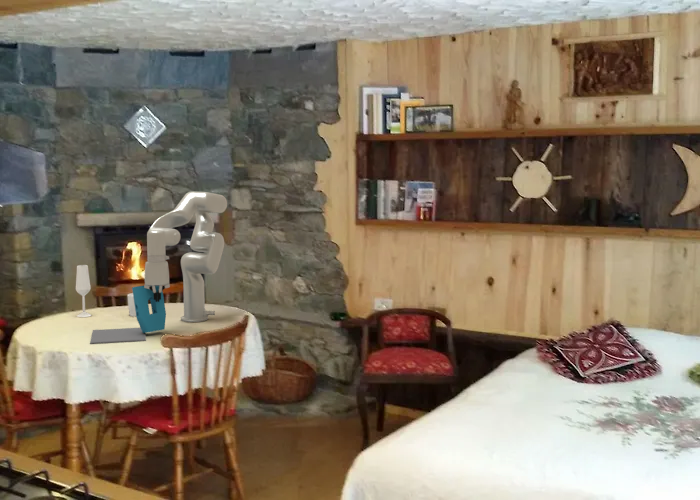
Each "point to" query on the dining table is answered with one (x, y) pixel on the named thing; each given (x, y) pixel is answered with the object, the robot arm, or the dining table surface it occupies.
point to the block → (142, 309)
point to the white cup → (131, 305)
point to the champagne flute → (83, 286)
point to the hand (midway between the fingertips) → (157, 301)
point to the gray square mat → (117, 335)
